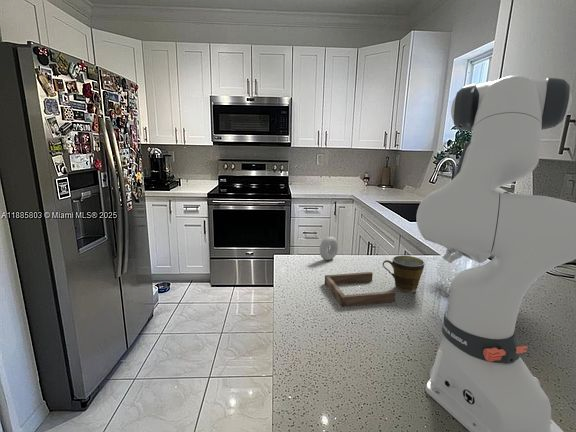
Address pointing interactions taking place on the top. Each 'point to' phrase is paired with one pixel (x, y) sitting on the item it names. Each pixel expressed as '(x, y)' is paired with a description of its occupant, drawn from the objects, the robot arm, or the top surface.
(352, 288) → the top surface
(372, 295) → the wooden u-shaped frame
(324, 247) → the donut
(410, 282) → the ceramic cup
